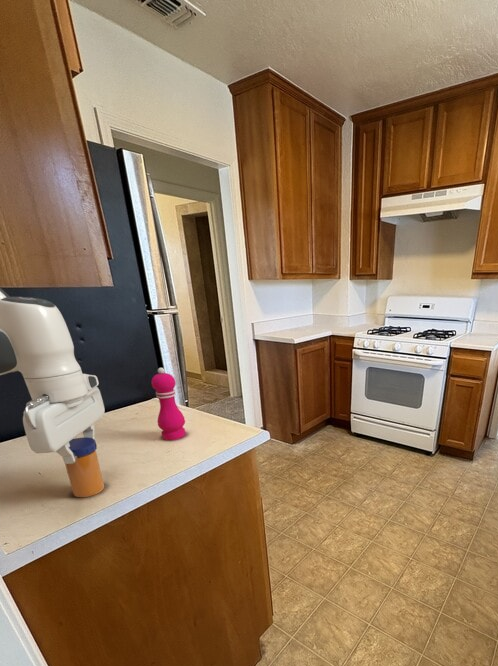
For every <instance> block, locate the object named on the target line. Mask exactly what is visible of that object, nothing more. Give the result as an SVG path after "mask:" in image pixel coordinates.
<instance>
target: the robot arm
mask: <svg viewBox="0 0 498 666" xmlns="http://www.w3.org/2000/svg"><path fill="white" fill-rule="evenodd" d="M16 372H20V374H21V375H22V377H23V380H24V383H25V385H26V387H27V390H28V394H29V395H30V397H31V400H29V401H28V402H26V404H25V408H24V411H23V416H22V424H23V428H24V432H25V436H26V439H27V443H28V445H29V448H30V449H31V451H32V452H34V453H35V454H49V453H55V452H56V453H57V454H58V455H59V456H60V457H62V460H63V462H64V464H65V463H66V464H72V463H74V462H75V461H76V460H77V459H78V457H77V454H76V452H72V451H71V450H70V449H69V447H70V444H69V441H71V440H72V439H75V438H77V437H78V436H79V435H80V434H81V433H82V435H83V437H82V438H93V439H94V440H95V441H96V438H95V432H96V427H95V423H97V422H98V421H100V420H101V419H102V418H104V417H105V412H106V411H105V404H104V400H103V398H102V397H103V396H102V393H101V390H100V389H99V387H98V386H99V384H100V383H99V379H98V376H96V375H95V374H87V373H83V371H82V367H81V366H80V363H78V361H77V359H76V357H75V346H74V342H73V339H72V336H71V333H70V331H69V328H68V326H67V323H66V320H65V319H64V317H63V315H62V313H61V311H60V310H59V308H58V307H57V306H56V305H55V304H54V303H53V302H52V301H49V300H47V299H43V298H38V297H32V296H11V295H9V294H8V293H7V292H6V291H5V290H4V289H3V288H1V287H0V376H2V375H6V374H9V373H16Z"/></svg>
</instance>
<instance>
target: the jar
mask: <svg viewBox="0 0 498 666" xmlns="http://www.w3.org/2000/svg"><path fill="white" fill-rule="evenodd" d="M64 465H65V470H66V472H67V476H68V480H69V483H70V487H71V491H72V494H73V496H75V497H77V498H88V497H92V496H95V495H97V494H99V493H101V492H102V491H104V488H105V484H104V479H103V476H102V471H101V467H100V463H99V458H98V454H97V449H96V450H95V451H94V452H92V453H90V454H87V455H84V456H80V457H78V459H77V460H76V461H75V462H74V463H72V464H66V463H64Z"/></svg>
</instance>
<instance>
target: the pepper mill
mask: <svg viewBox="0 0 498 666" xmlns="http://www.w3.org/2000/svg"><path fill="white" fill-rule="evenodd" d="M176 384H177V383H176V379H175V377H174V376H173V375H172V374H170V373H168V372H166V370H165V368H164V367H159V368H158V369H157V374H154V376H153V377H152V379H151V387H152V389H154V390H155V397H156V398H157V399H158V402H159V413H158V416H157V426H158V428H159V429H161V437H162V439H163V440H165V441H176V440H180V439H182V438H184V437H185V436H186V428H185V427H184V426H185V424H186V419H185V416H184V414H183V413H182V411H181V410H180V409H179V407H178V406H177V402H176V397H175V396H177V395H176V394H177V393H176V390H175V387H176Z"/></svg>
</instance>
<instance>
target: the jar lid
mask: <svg viewBox="0 0 498 666" xmlns="http://www.w3.org/2000/svg"><path fill="white" fill-rule="evenodd" d="M69 444H70V447H69V449H70V450H71V451H72V452H76V454H77V457H80V456H84V455H87V454H90V453H92V452H94V451H95V450H96V451H97V449H98V445H97V441H96V439H95V440H94V439H93V438H84V437H75V438H73V439H72V440H71V441H69Z"/></svg>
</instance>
